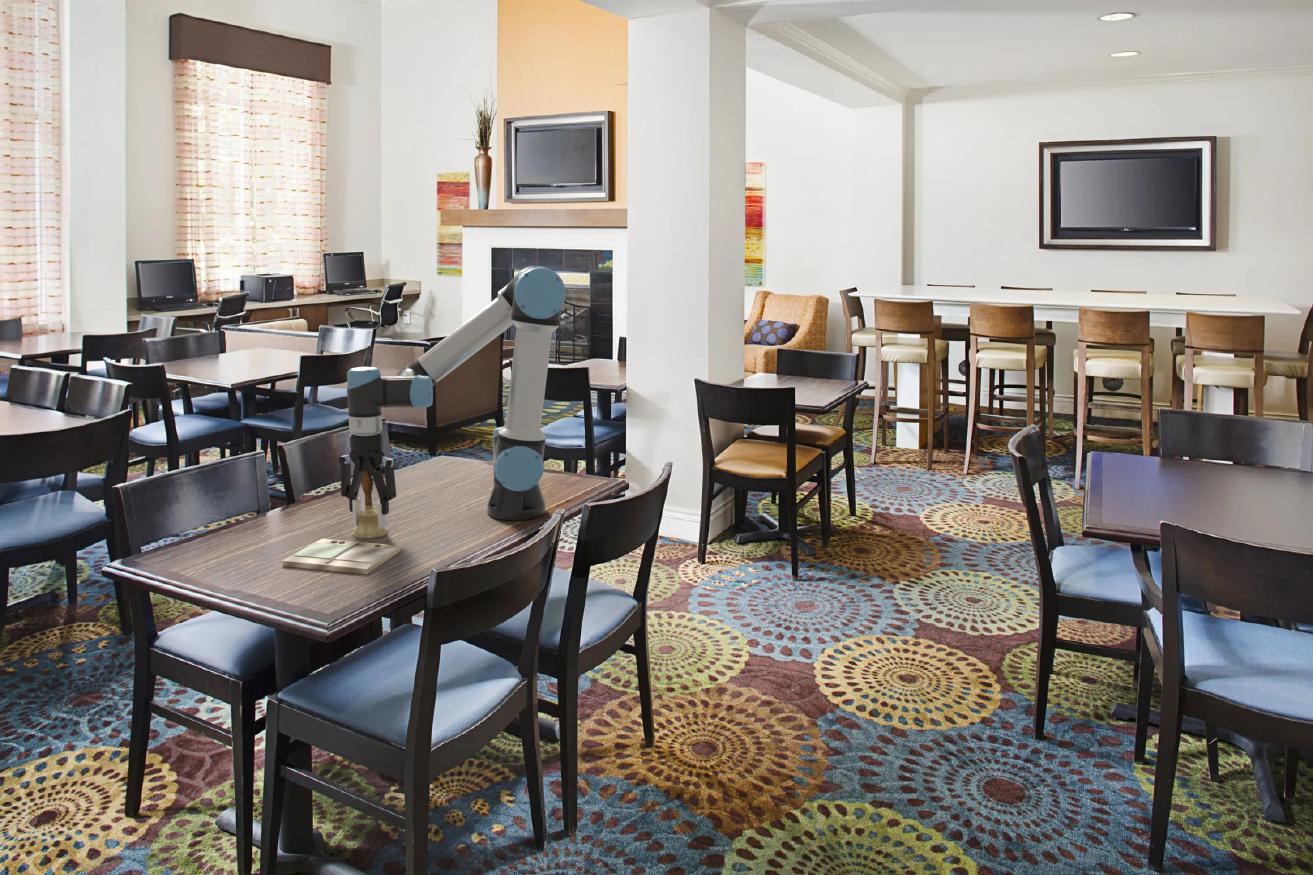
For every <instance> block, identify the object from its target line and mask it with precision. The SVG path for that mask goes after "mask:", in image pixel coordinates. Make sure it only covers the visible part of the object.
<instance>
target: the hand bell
mask: <svg viewBox="0 0 1313 875" xmlns="http://www.w3.org/2000/svg"><path fill="white" fill-rule="evenodd" d="M361 487H362V490H363V494H364V505H365V506H364V508H365V509H363V510H361V512H360V518H359V524H358V526H356V529H354V530H353V532H352V536H353V537H355V538H358V539H376V538H380V537H384V536H386V535H387V534H388V533H389V530H388V528H387V527H386V526H385V527H383V528H382V529H378V509H375V508H374V507H373V499H372V498H373V497H372V493H373V488H374V480H373V477H372V476H371V474H370V472H368V471H364V472H363V476H362V480H361Z"/></svg>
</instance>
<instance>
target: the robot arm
mask: <svg viewBox="0 0 1313 875" xmlns="http://www.w3.org/2000/svg"><path fill="white" fill-rule="evenodd" d="M566 295H567V294H566V286H565V283H564V281H563V279H562V278H561V276H560V274H558V272H556V271H555V270H553V269H552V268H550V267H547V266H544V265H541V264H540V265H539V264H532V265H529V266H526V267H524V268H523V269H521V270H520V271H519V272H518V273H517V274H516V275H515V276H514V277H513V278H512V279H511V280H510V281H509V282H508V283H507V284H506V285H505V286H503V287H502V288H501V289H500V290H499V291H498V292H497V297H496V298H495V299H493V300H492V301H490V303H488V304H487V305H485V306H484V307H483V308H482V309H481V310H479V311H478V312H477V313H476V314H474V315H472V317H470V318H469V319H468V320H466V321H465V322H464V323H462V324H461V325H460V326H458V327H457V328H456V329H455V330H454V331H452V332H451V333H450V334H448V335H447V336H445V337H444V338H443V339H442V340H440V341H439V342H438V343H436V344H435V345H433V347H431V348H430V349H429V350H427V351H426V352H425V353H423V354H422V355H420V356H419V357H418V358H417V359H416V360H414V361H413V362H412V363H410V364H409V365H408V366H405V367H403V368H402V369H401V370H400V371H398V373H397V375H392V376H391V375H389V376H387V375H382V374H381V372H380V368H378V367H376V366H375V367H374V366H358V367H353V368H350V369H349V370H348V371H347V373H346V378H347V380H346V394H347V395H346V396H347V409H348V411H347V412H348V425H349V426H348V429H349V432H350V434H349V449H350V452H349V454H343V455H342V456H340V457H338V462H339V464H340V495H341V496H342V497H346V498H347V499H348V503H349V504H348V505H349V506H348V508H349V511H350V513H352V522H353V525H352V526H353V527H356V528H357V526H358V524H359V518H360V512H362V500H361V499H362V497H359V496H360V495H359V491H360V488H361V485H362V476H363V472H364V471H368V472H370V474H371V476H372V479H373V484H374V485H375V488H376V491H377V495H378V498H379V500H378V501H377V502H376V503H377V504H376V505H377V511H378V529H382V528H383V527H385V528H386V526H387V515H388V514H389V512H390V501H392V500H394V499H395V498H396V497H397V488H396V478H395V464H396V458H394V457H392V458H390V457H387V456H385V453H384V452H383V448H384V441H383V439H384V438H383V433H382V432H381V431H383V420H382V418H383V417H382V408H386V409H389V408H393V409H394V408H398V409H399V408H405V409H406V408H409V409H411V408H412V409H413V408H414V409H415V408H416V409H420V408H430V407H431V406H432V405H433V399H434V398H433V395H434V394H433V389H434V388H433V387H434V386H435V385H436V384H437V383H438V382H439V381H441V380H442V379H443V378H445V377H446V376H447V375H450V373H451V372H453V371H454V370H455V369H456V368H458V367H459V366H461V365H462V364H463V363H464V362H466V361H467V360H468V359H470V358H471V357H473V355H475V354H476V353H477V352H479V351H480V350H481V349H483V348H484V347H486V345H488V344H489V343H491V342H492V341H493V340H495V339H496V338H497V337H499V336H500V335H501V334H502V333H504V332H505V331H507V329H509V328H510V327H512V326H513V325H514V327H515V338H514V346H513V355H512V361H511V362H512V364H511V370H510V371H511V373H510V381H509V389H508V390H509V392H508V399H507V400H508V401H507V409H506V413H505V414H506V416H505V423H504V425H503V426H499V427H495V428H494V429H493V432H492V446H493V447H492V450H493V451H492V452H493V456H492V457H493V458H492V459H493V462H492V463H493V486H492V489H491V491H490V492H491V493H490V496H489V498H488V502H487V506H486V507H487V508H486V509H487V515H488V516H489V517H491V518H494V519H497V520H502V521H503V520H504V521H523V520H532V519H531V518H533V519H537V518H539V516H540V517H542V516H543V514H544V513H545V514H546V501H545V499H544V495H543V493H542V490H541V486H540V483H539V482H540V481H541V480H542V478H543V475H544V472H545V463H544V456H545V455H544V454H545V447H546V446H545V444H546V439H547V438H546V435H545V434H544V433H543V431H542V430H541V428H542V419H543V411H544V402H545V394H546V393H545V392H546V386H547V378H548V369H549V362H550V352H551V347H552V345H551V344H552V337H553V336H552V335H553V332H554V331H556V330H557V329H558V328H559V327H560V324H561V323H560V322H561V317H562V308H563V306H564V303H565V300H566ZM351 463H353V464H354V467H353V470H352V469H351V468H352V467H351V466H352V464H351ZM382 463H383V467H384V476H383V469H382V467H381V465H382ZM351 471H353V472H351ZM352 473H353V475H352ZM351 476H352V477H351ZM351 478H352V479H351ZM384 479H385V480H384ZM545 514H544V515H545ZM541 515H542V516H541Z"/></svg>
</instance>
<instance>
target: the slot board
mask: <svg viewBox="0 0 1313 875" xmlns="http://www.w3.org/2000/svg"><path fill="white" fill-rule="evenodd" d="M401 551H402V545H396V544H386V543H376V542H375V543H374V542H373V543H372V542H361V541H350V540H341V539H331V538H329V539H328V538H319V540H317V541H315V542H313V543H312V544H310V545H308V546H307V547H306V546H305V548H303V549H301V550H299V551H297V552H296V553H293V554H292V555H290V556H289V557H287V558H285V559H283V560H282V562H281V563H282V567H288V566H289V568H298V569H299V568H300V569H309V570H319V571H329V572H330V571H332V572H341V573H342V572H343V573H351V574H363V575H368V574H369V573H371V572H373V571H374V570H375V569H376V568H378V567H380V566H381V565H383V564H384V563H386V562H387V561H389V560H390V559H391V558H392V557H394V556H396V555H398V554H399V553H400V552H401Z"/></svg>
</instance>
